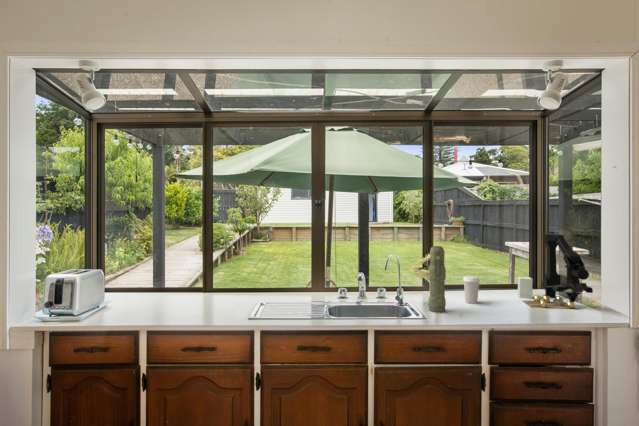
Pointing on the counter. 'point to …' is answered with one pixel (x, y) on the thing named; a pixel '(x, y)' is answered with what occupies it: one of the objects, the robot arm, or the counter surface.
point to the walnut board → (549, 305)
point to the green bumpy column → (437, 280)
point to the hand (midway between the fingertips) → (572, 304)
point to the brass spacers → (547, 300)
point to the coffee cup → (471, 289)
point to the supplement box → (525, 287)
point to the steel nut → (558, 302)
